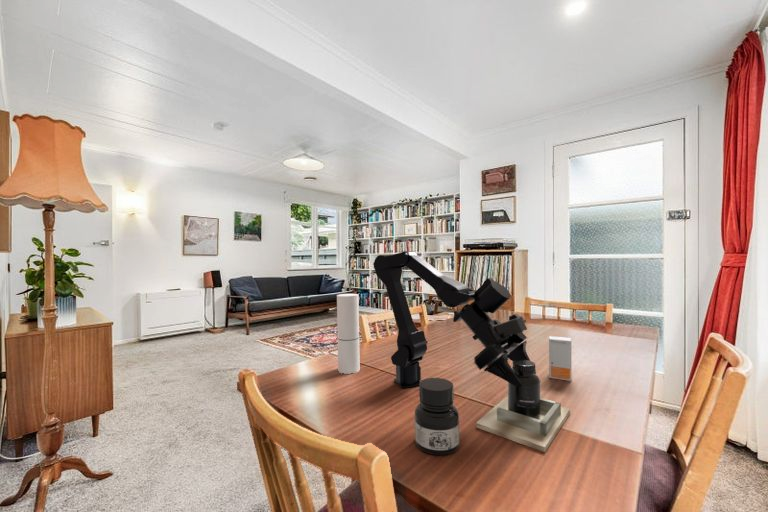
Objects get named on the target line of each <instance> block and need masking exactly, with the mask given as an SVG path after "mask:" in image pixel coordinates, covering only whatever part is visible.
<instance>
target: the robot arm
mask: <svg viewBox="0 0 768 512" xmlns="http://www.w3.org/2000/svg"><path fill="white" fill-rule="evenodd" d="M405 267H406V268H408V269H409V271H412V272H413V273H414V274H415V275H416V276H418V277H419V278H420V279H421V280H423V281H424V282H425V283H426V284H427V285H429V286H430V287H431V288H432V289H433V290H434V291H435V294H436V296H437V298H438V299H439V300H440V301H441V303H443V304H444V305H445V307H448V308H451V309H452V308H453V309H454V308H457V307H461V306H463V307H461V308H460V309H458V310H455V311H453V318H452V319H453V323H457V322H459V321H463V323H464V324H465V325H466V327H468V329H469V330H470V331H471V332H472V333H473V335H472V339H473V340H474V341H476V340H478V341H479V343H480V344H482V346H483V347H484V349H482V350H481V351H480V352H479V353H478V354H476V355H475V356H474V359H473V360H474V365H475V366H476V368H478V370H479V371H481V370H483V371H484V372H485V373H486V372H488V373H490V374H491V375H494V376H497V377H498V378H500V379H502V380H504V381H505V382H507V383H508V382H509V383H511V384H513V385H514V386H516V387H518V388H520V387H521V386H522V385H523V384H522V383H521V381H520V379H519V378H518V376H517V375H516V374H515V372H514V370H513V369H512V366H511V365H510V363H509V361H508V360H510V361H512V362H513V361H514V360H520V359H521V360H528V361H531V360H530V357H529V355H528V353H527V350H526V349H527V347H526V346H527V343H528V341H527V340H526V339H528V337H527V336H526V335H525V333H524V331H527V330H528V327H527V325H526V323H527V320H526V319H525V318H523V316H522V315H519V314H518V313H514V314H511V315H509V316H508V320H507V321H504V322H500V321H499V320H498V319H494V320H493V319H492V318H491V317H490V316H489V315H488V314H489V313H491V314H495V313H496V312H497V311H498V310H499V309H500V308H501V307H502V306H503V305H504V304H506V303H507V302H508V301H509V300H510V299H511V298H512V295H511V292H510V290H508V288H507V287H506V286H504V285H503V284H500V282H497V281H496V280H494V279H493V278H492V277H488V278H486V279H485V280H484V281H483V283H482V284H481V285H480V287H478V289H472V288H470V287H469V286H468V285H467V284H465V283H462V282H460V281H459V280H457V279H454V278H451V277H449V276H446V275H444V274H443V273H442V272H441V271H439V270H438V269H436V268H435V267H434V266H433V265H431V264H430V263H428V262H427V261H426V260H424V258H422V257H421V256H419V255H418V254H417V252H415V251H413V250H409V251H408V250H407V251H405V250H403V251H401V252H399V253H394V254H379V255H377V256H376V257H375V259H374V261H373V269H374V271H375V274H376V275H377V277H378V280H380V281H381V282H382V283H383V285H384V287H385V289H386V293H387V296H388V300H389V302H390V303H389V304H390V306H391V309H392V313H393V316H394V317H393V318H394V319H395V323H396V327H397V330H398V332H397V336H396V337H397V339H396V346H397V350H395V352H394V353H393V354H392V355H391V356H390V359H391V360H390V361H391V363H392V365H393V366H394V365H395V376H396V377H395V378H394V379H393V381H394V382H395V383H396V384H397V385H398V386H399V387H400V388H401V389H407V388H412V387H417V386H419V382H421V380H422V377H421V376H422V371H421V370H422V368H421V366H420V361H423V358H424V356H425V354H426V352H427V351H428V345H427V344H428V343H429V342H428V341H427V338H426V335H425V331H424V330H423V329H421V330H419V329H418V328H417V327H416V326H415V323H414V320H413V316H412V313H411V311H410V308H409V303H408V301H407V297H406V293H405V291H404V287H403V284H402V281H401V280H402V274H403V268H405ZM470 301H472V302H471V303H470V304H468V303H469V302H470ZM502 353H504V354H503V355H502ZM507 353H509V354H508V355H507ZM507 358H508V359H507ZM534 374H536V375H537V372H536V373H534Z"/></svg>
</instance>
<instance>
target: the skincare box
mask: <svg viewBox="0 0 768 512" xmlns="http://www.w3.org/2000/svg"><path fill="white" fill-rule="evenodd" d="M548 375H549V376H548V378H549V379H555V380H562V381H567V382H572V338H571V337H564V336H551V335H549V336H548Z"/></svg>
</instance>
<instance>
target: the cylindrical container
mask: <svg viewBox="0 0 768 512" xmlns="http://www.w3.org/2000/svg"><path fill="white" fill-rule="evenodd" d="M359 299H360V298H359V294H357V293H340V294H336V318H337V319H336V320H337V322H336V323H337V324H336V325H337V372H338V371H339V372H338V373H340V374H342V373H344V374H343V375H351V373H353V374H356V373H358V372H359V371H360V369H361V367H360V366H361V365H360V364H361V361H360V360H361V358H360V308H359V307H360V306H359V301H360V300H359Z"/></svg>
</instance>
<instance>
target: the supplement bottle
mask: <svg viewBox="0 0 768 512" xmlns="http://www.w3.org/2000/svg"><path fill="white" fill-rule="evenodd" d="M511 368H512V369H513V371H514V372H515V374H516V375H517V376H518V378H519V379H520V381H521V383H522V384H523V385H522V386H521V387H520V388H518V387H516V386H514V385H513V384H511V383H509V382H507V396H508V410H509V411H512V412H515V413H519V414H522V415H525V416H528V417H532V418H535V419H539V418H540V398H541V379H540V377H539V376H538V375H537V370H536V363H535V362H533V361H531V360H530V361H528V360H521V359H520V360H514V361H512V366H511ZM534 373H536V374H534Z"/></svg>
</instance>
